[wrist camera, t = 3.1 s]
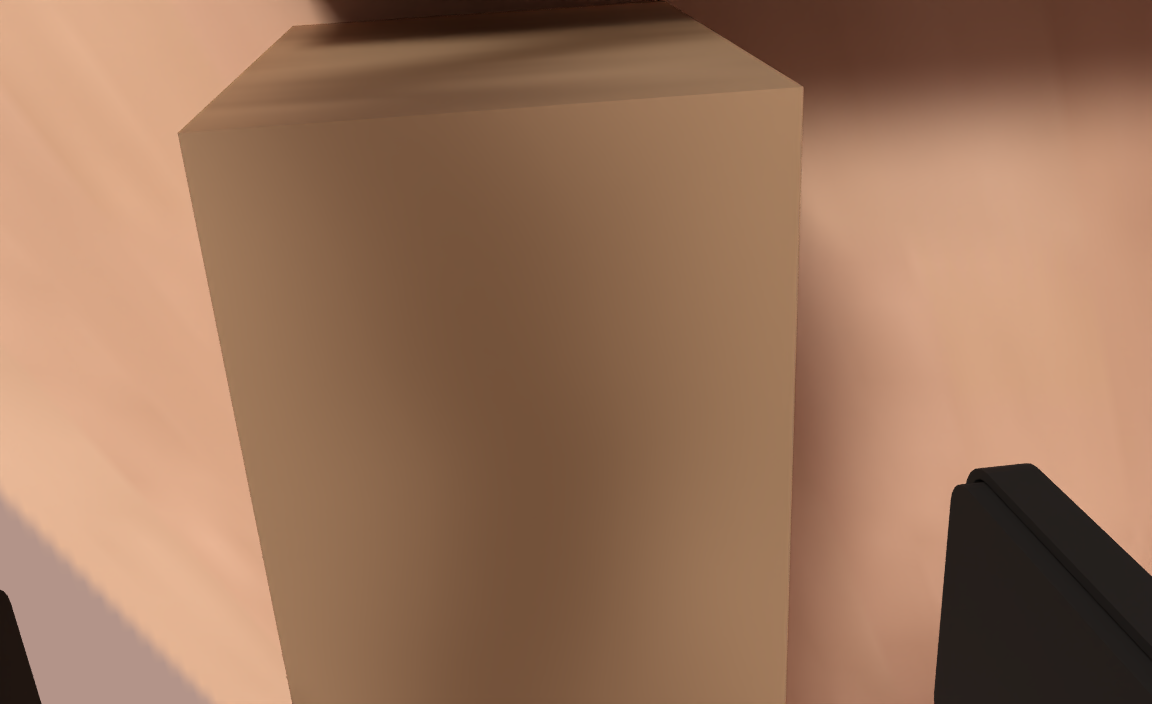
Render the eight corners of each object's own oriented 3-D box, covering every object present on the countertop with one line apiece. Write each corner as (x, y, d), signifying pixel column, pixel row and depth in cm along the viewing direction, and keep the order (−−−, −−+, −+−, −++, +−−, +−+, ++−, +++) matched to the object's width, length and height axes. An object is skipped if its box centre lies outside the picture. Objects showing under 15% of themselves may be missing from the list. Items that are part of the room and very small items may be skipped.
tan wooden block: (663, 0, 18) (803, 86, 11) (674, 509, 22) (782, 826, 15) (293, 25, 18) (177, 132, 10) (371, 539, 22) (327, 880, 14)
